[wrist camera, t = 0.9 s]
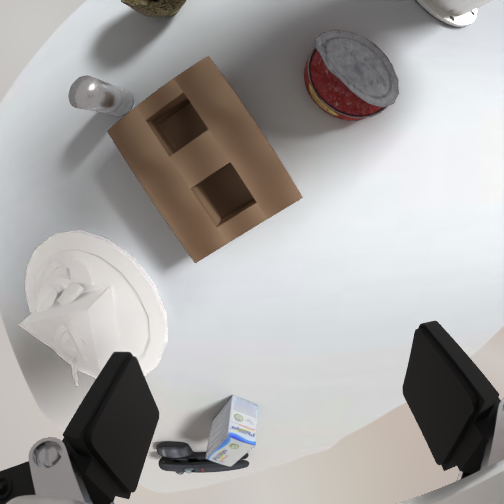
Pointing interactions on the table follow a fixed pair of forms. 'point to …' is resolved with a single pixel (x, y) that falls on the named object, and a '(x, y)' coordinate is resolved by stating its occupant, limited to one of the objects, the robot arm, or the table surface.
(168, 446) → the can opener
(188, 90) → the hole block
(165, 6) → the cup
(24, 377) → the table surface
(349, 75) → the canned food
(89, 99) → the pin
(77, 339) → the dish
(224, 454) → the medicine box
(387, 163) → the table surface
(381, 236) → the table surface
